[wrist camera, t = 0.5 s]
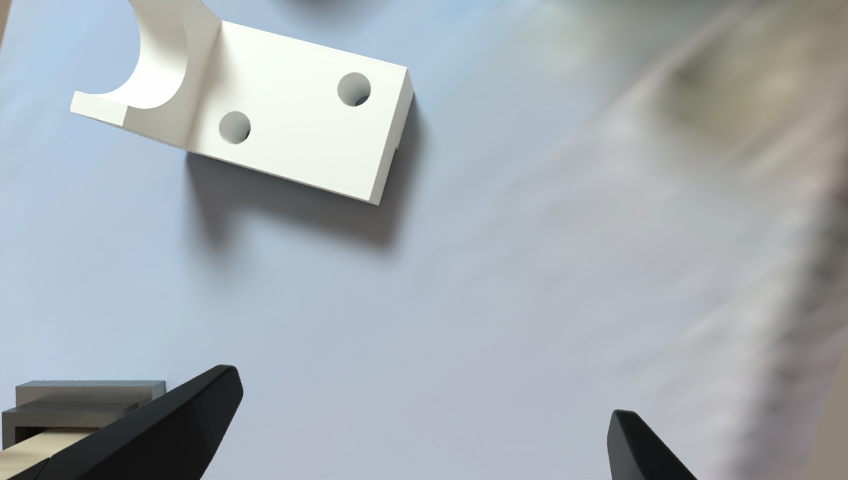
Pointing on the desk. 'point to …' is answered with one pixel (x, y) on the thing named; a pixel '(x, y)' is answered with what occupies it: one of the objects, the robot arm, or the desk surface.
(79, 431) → the wooden block
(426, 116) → the desk surface
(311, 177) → the bracket
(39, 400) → the base plate
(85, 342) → the desk surface
